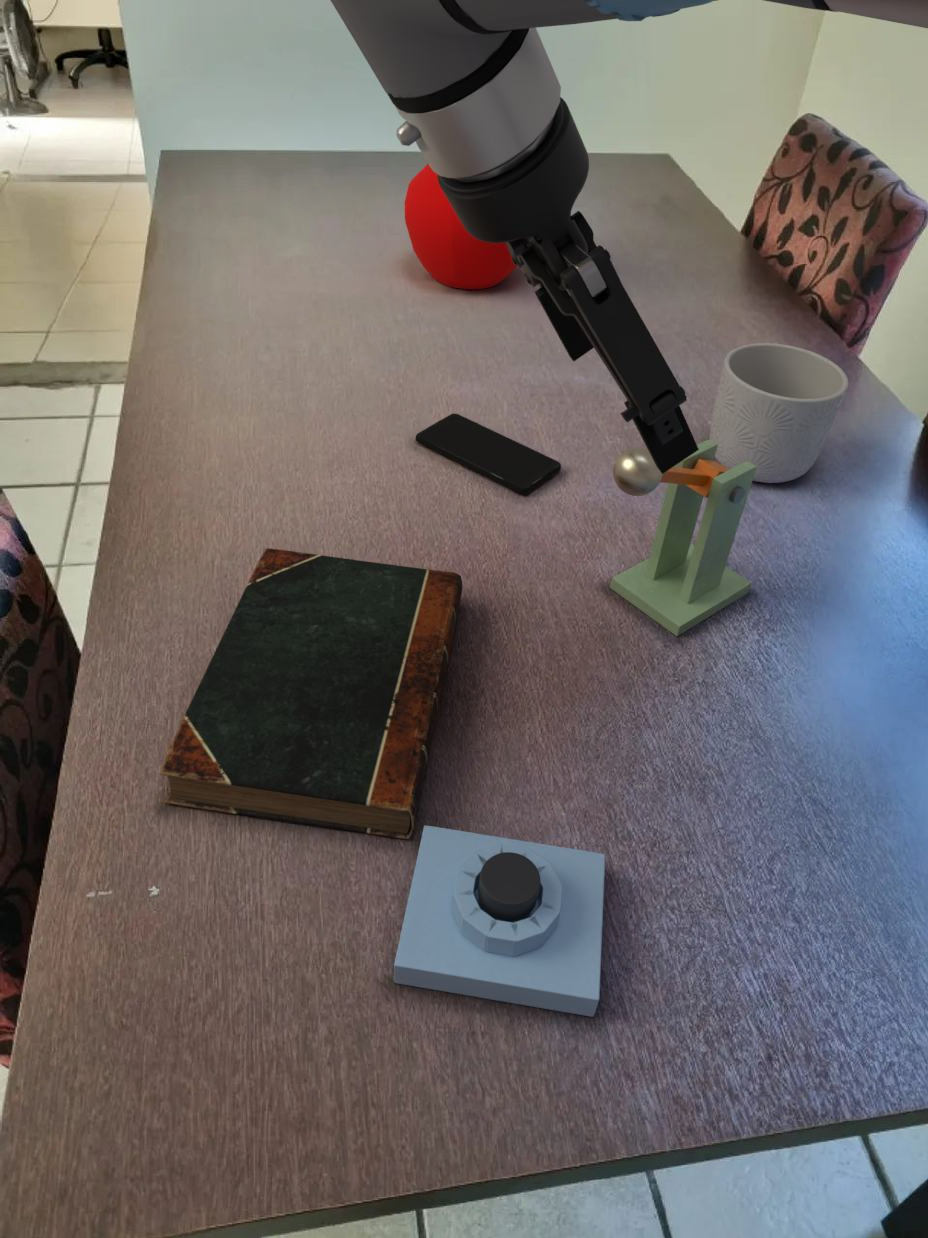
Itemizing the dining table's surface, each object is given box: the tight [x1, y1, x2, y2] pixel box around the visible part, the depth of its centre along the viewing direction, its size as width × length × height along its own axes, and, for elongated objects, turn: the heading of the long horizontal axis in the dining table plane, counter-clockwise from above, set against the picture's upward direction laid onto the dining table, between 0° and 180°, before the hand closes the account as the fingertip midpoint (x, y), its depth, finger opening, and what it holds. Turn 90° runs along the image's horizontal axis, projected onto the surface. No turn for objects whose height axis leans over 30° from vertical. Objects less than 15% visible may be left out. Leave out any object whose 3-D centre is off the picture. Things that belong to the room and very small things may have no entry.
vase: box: [404, 163, 518, 290], centre depth 125 cm, size 18×18×30 cm
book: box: [159, 547, 463, 840], centre depth 72 cm, size 17×4×25 cm
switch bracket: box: [609, 439, 757, 637], centre depth 80 cm, size 10×8×14 cm
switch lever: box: [612, 446, 730, 499], centre depth 73 cm, size 14×4×4 cm, turn 130°
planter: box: [708, 342, 849, 484], centre depth 99 cm, size 12×12×11 cm
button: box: [478, 852, 540, 920], centre depth 56 cm, size 4×4×2 cm
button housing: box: [393, 824, 606, 1018], centre depth 58 cm, size 12×10×4 cm
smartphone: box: [415, 413, 562, 496], centre depth 99 cm, size 7×1×15 cm
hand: (629, 399), depth 64 cm, fingers open, 13 cm apart
